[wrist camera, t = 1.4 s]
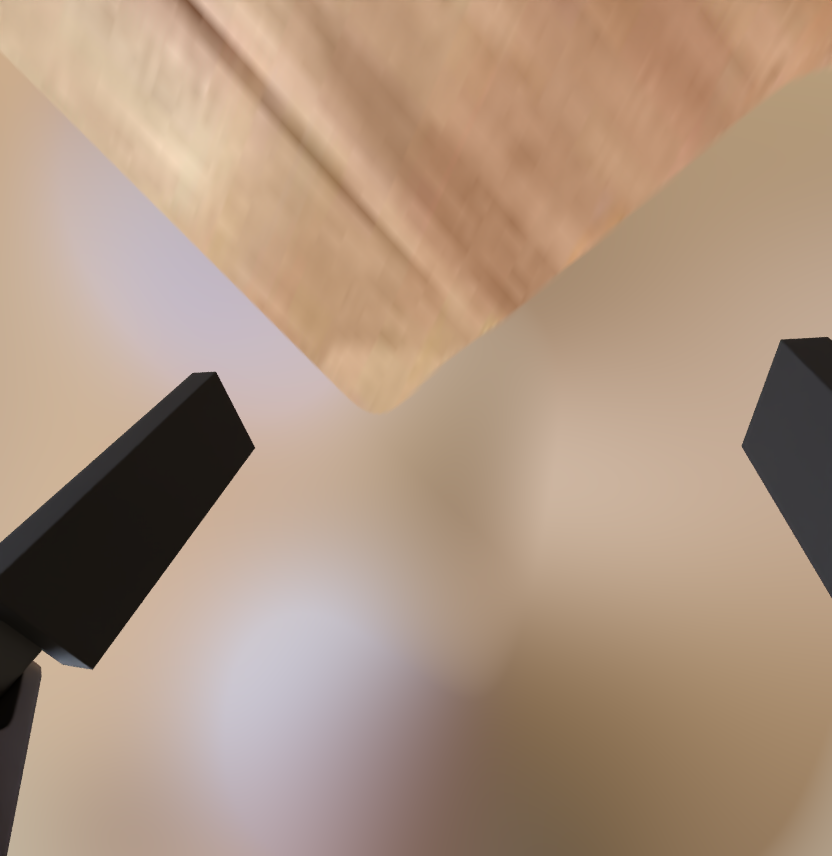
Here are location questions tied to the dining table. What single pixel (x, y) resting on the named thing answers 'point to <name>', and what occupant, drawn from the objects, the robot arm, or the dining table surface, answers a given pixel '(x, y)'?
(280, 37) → the dining table surface
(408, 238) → the dining table surface
